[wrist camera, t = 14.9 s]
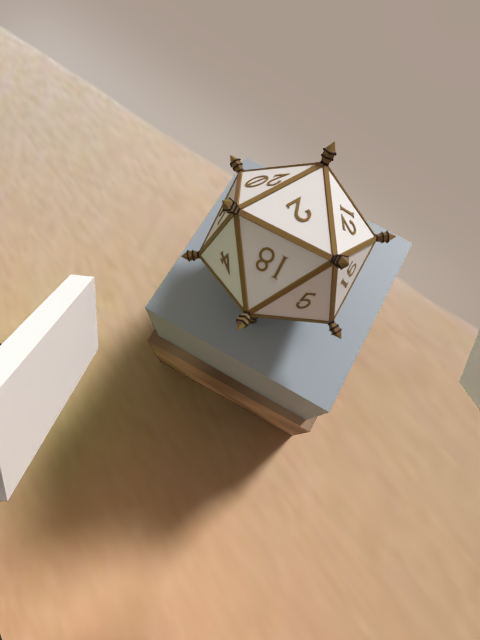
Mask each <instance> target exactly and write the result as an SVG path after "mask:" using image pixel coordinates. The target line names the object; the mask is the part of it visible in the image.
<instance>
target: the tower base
mask: <svg viewBox="0 0 480 640" xmlns="http://www.w3.org/2000/svg"><path fill="white" fill-rule="evenodd" d="M148 342H149V343H150V345H151V347H152V348H153V350H154V352H155V353H156V355H157V357H158V358H159V360H160V361H161V362H163V363H164V364H166V365H168V366H170V367H171V368H173V369H175V370H177V371H179V372H180V373H182V374H184V375H186V376H187V377H189V378H191V379H193V380H194V381H196V382H198V383H200V384H202V385H203V386H205V387H207V388H209V389H210V390H212V391H214V392H216V393H217V394H219V395H221V396H223V397H225V398H226V399H228V400H230V401H232V402H233V403H235V404H237V405H239V406H240V407H242V408H244V409H246V410H248V411H249V412H251V413H253V414H255V415H256V416H258V417H260V418H262V419H263V420H265V421H267V422H269V423H270V424H272V425H274V426H276V427H278V428H279V429H281V430H283V431H285V432H286V433H288V434H290V435H292V436H293V435H297V434H302V433H307V432H310V430H311V428H312V426H313V424H314V422H315V420H316V418H317V417H314V418H311V419H308V420H304V419H303V418H301V417H299V416H297V415H296V414H294V413H292V412H291V411H289V410H287V409H285V408H284V407H282V406H280V405H278V404H277V403H275V402H273V401H271V400H270V399H268V398H266V397H264V396H263V395H261V394H259V393H257V392H256V391H254V390H252V389H250V388H249V387H247V386H245V385H243V384H242V383H240V382H238V381H236V380H235V379H233V378H231V377H229V376H228V375H226V374H224V373H222V372H221V371H219V370H217V369H215V368H214V367H212V366H210V365H208V364H207V363H205V362H203V361H202V360H200V359H198V358H196V357H195V356H193V355H191V354H189V353H188V352H186V351H184V350H182V349H181V348H179V347H177V346H175V345H174V344H172V343H170V342H168V341H167V340H165V339H163V338H161V337H160V336H159V335H158V333H157V331H156V329H155V330H154V332H153V334H152V335H151V337H150V338H149V340H148Z"/></svg>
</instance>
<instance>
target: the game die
mask: <svg viewBox="0 0 480 640" xmlns="http://www.w3.org/2000/svg"><path fill="white" fill-rule="evenodd" d="M323 150H324V152H323V154H321V156H322V160H321V162H316V163H308V164H297V165H289V166H278V167H269V168H259V169H250V170H244V169H243V167H242V165H243V163H241V162H240V159H237V158H235V157H233V156H230V157H231V163H230V166H231V167H233V170H234V171H236V172H237V173H238V174H237V176H236V178H235V180H234V182H233V184H232V186H231V188H230V190H229V192H228V194H227V196H226V198H225V200H222V203H223V204H222V206H221V208H220V210H219V212H218V214H217V216H216V218H215V220H214V222H213V224H212V226H211V228H210V230H209V232H208V234H207V236H206V238H205V240H204V242H203V244H202V246H201V248H200V250H199V251H194V250H192V251H189V250H187V252H186V253H184V254H183V255H182V256H181V257H183V258H184V259H186V260H188V261H189V262H190V261H192V260H193V261H195V260H196V259H198V258H199V259H201V260H202V262H203V263H204V264H205V265H206V267H207V268H208V269H209V270H210V272H211V273H212V274H213V275H214V277H215V278H216V279H217V280H218V282H219V283H220V284H221V285H222V287H223V288H224V289H225V290H226V292H227V293H228V294H229V295H230V297H231V298H232V299H233V300H234V302H235V303H236V304H237V305H238V307H239V308H240V309H241V310H242V312H243V313H242V314H241V315H239V318H238V319H236V323H237V331H238V330H240V329H242V328H246V327H247V326H248V324H249V325H250V324H254V323H255V322H257V319H258V317H259V318H270V319H280V320H291V321H301V322H312V323H323V324H328V325H329V331H331V333H332V334H331V335H334V336H336V337H338V338H340V339H341V330H342V329H341V328H340V327H339V324H336V323H335V321H334V319H335V317H336V316H337V314H338V312H339V310H340V308H341V306H342V304H343V303H344V301H345V299H346V297H347V295H348V293H349V291H350V289H351V288H352V286H353V284H354V282H355V280H356V278H357V276H358V274H359V273H360V271H361V269H362V267H363V265H364V263H365V261H366V260H367V258H368V256H369V254H370V252H371V250H372V248H373V246H374V245H375V243H376V242H381V243H384V242H386V243H388V242H389V241H390V240H392V239H393V238H395V237H396V236H395V235H393V234H391V233H389V232H388V231H386V232H382V231H381V233H379V234H375V233H374V232H373V230H372V229H371V227H370V226H369V224H368V223H367V221H366V220H365V219H364V217H363V216H362V214H361V213H360V211H359V210H358V208H357V207H356V206H355V204H354V202H353V201H352V200H351V198H350V197H349V195H348V194H347V192H346V191H345V189H344V188H343V186H342V185H341V183H340V182H339V181H338V179H337V178H336V176H335V175H334V173H333V172H332V171H331V169H330V168H329V166H328V165H329V163H330V162H331V161H333V157H334V155H336V152H335V142H333V143H332V144H331V145H329V146H328V147H326V148H323Z"/></svg>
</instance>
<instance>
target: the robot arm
mask: <svg viewBox="0 0 480 640" xmlns="http://www.w3.org/2000/svg"><path fill="white" fill-rule="evenodd" d="M98 348H99V347H98V331H97V314H96V298H95V282H94V277H91V276H81V275H70V276H69V277H68V278H67V279H66V280H65V281H64V282H63V283H62V284H61V285H60V286H59V287H58V288H57V289H56V290H55V291H54V292H53V293H52V294H51V295H50V296H49V297H48V298H47V299H46V300H45V301H44V302H43V303H42V304H41V305H40V306H39V307H38V308H37V309H36V310H35V311H34V312H33V313H32V314H31V315H30V316H29V317H28V318H27V319H26V320H25V321H24V322H23V323H22V324H21V325H20V326H19V327H18V328H17V329H16V330H15V331H14V332H13V334H12V335H11V336H10V337H9V338H8V339H7V340H6V341H5V342H4V343H3V344H0V501H8V500H9V498H10V496H11V495H12V493H13V491H14V490H15V488H16V486H17V485H18V483H19V481H20V480H21V478H22V476H23V475H24V473H25V471H26V469H27V468H28V466H29V464H30V463H31V461H32V459H33V458H34V456H35V454H36V453H37V451H38V449H39V448H40V446H41V444H42V443H43V441H44V439H45V438H46V436H47V434H48V433H49V431H50V429H51V427H52V426H53V424H54V422H55V421H56V419H57V417H58V416H59V414H60V412H61V411H62V409H63V407H64V406H65V404H66V402H67V401H68V399H69V397H70V396H71V394H72V392H73V391H74V389H75V387H76V385H77V384H78V382H79V380H80V379H81V377H82V375H83V374H84V372H85V370H86V369H87V367H88V365H89V364H90V362H91V360H92V359H93V357H94V355H95V354H96V352H97V350H98ZM459 382H460V384H461V385H462V386H463V388H464V389H465V390H466V392H467V393H468V395H469V396H470V397H471V399H472V400H473V402H474V403H475V404H476V406H477V407H478V408H479V410H480V330H479V333H478V336H477V338H476V341H475V343H474V346H473V348H472V351H471V353H470V356H469V358H468V361H467V363H466V366H465V368H464V371H463V374H462V376H461V379H460V381H459ZM0 640H2V639H1V635H0Z"/></svg>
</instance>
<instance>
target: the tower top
mask: <svg viewBox="0 0 480 640" xmlns="http://www.w3.org/2000/svg"><path fill="white" fill-rule="evenodd" d="M242 167H243V169H244V170H250V169H259V168H265V167H263V166H261V165H259V164H257V163H255V162H253V161H251V160H250V159H248V158H246V159H245V160H244V162H243V165H242ZM237 174H238V173H237V172H236V173H235V175H234V176H233V178H232V179H231V181H230V182H229V184H228V185H227V187H226V188H225V190H224V191H223V193H222V194H221V196H220V197H219V199H218V200H217V202H216V203H215V205H214V206H213V208H212V209H211V211H210V212H209V214H208V215H207V217H206V218H205V220H204V221H203V222H202V224H201V225H200V227H199V228H198V230H197V231H196V233H195V234H194V236H193V237H192V239H191V240H190V242H189V243H188V245H187V246H186V248H185V249H184V251H183V252H182V254H181V255H180V257H179V258H178V260H177V261H176V263H175V264H174V266H173V267H172V269H171V270H170V272H169V273H168V275H167V276H166V278H165V279H164V281H163V282H162V283H161V285H160V286H159V288H158V289H157V291H156V292H155V294H154V295H153V297H152V298H151V300H150V301H149V303H148V304H147V306H146V307H145V308H146V310H147V312H148V314H149V317H150V319H151V321H152V323H153V325H154V327H155V329H156V331H157V333H158V335H159V336H160V337H161V338H163V339H165V340H167V341H168V342H170V343H172V344H174V345H175V346H177V347H179V348H181V349H182V350H184V351H186V352H188V353H189V354H191V355H193V356H195V357H196V358H198V359H200V360H202V361H203V362H205V363H207V364H208V365H210V366H212V367H214V368H215V369H217V370H219V371H221V372H222V373H224V374H226V375H228V376H229V377H231V378H233V379H235V380H236V381H238V382H240V383H242V384H243V385H245V386H247V387H249V388H250V389H252V390H254V391H256V392H257V393H259V394H261V395H263V396H264V397H266V398H268V399H270V400H271V401H273V402H275V403H277V404H278V405H280V406H282V407H284V408H285V409H287V410H289V411H291V412H292V413H294V414H296V415H297V416H299V417H301V418H303V419H304V420H308V419H311V418H314V417H317V416H319V415H322V414H325V413H328V412H329V411H330V409H331V407H332V405H333V403H334V401H335V399H336V397H337V395H338V393H339V391H340V389H341V387H342V385H343V383H344V381H345V379H346V377H347V375H348V373H349V371H350V369H351V367H352V365H353V363H354V361H355V359H356V357H357V355H358V353H359V350H360V348H361V346H362V344H363V342H364V340H365V338H366V336H367V334H368V332H369V330H370V328H371V326H372V324H373V322H374V320H375V318H376V316H377V314H378V312H379V310H380V308H381V306H382V304H383V302H384V300H385V298H386V296H387V294H388V292H389V290H390V288H391V285H392V283H393V281H394V279H395V277H396V275H397V273H398V271H399V269H400V267H401V265H402V263H403V261H404V259H405V257H406V255H407V253H408V251H409V249H410V247H411V245H412V243H410V242H408V241H406V240H404V239H403V238H400V237H399V236H397V235H395V234H393V233H391V232H389V231H388V232H389V233H391V234H393V235H395V236H396V237H395V238H393V239H392V240H390V241H389V242H388V243H386V242H384V243H381V242H376V243H375V245H374V246H373V248H372V250H371V252H370V254H369V256H368V258H367V260H366V261H365V263H364V265H363V267H362V269H361V271H360V273H359V274H358V276H357V278H356V280H355V282H354V284H353V286H352V288H351V289H350V291H349V293H348V295H347V297H346V299H345V301H344V303H343V304H342V306H341V308H340V310H339V312H338V314H337V316H336V317H335V319H334V321H335V323H336V324H339V327H340V328H341V329H342V330H341V339H340V338H338V337H336V336H334V335H331V334H332V333H331V331H329V325H328V324H323V323H312V322H301V321H291V320H280V319H270V318H259V317H258V319H257V322H255V323H254V324H250V325H249V324H248V326H247V327H246V328H242V329H240V330H238V331H237V323H236V319H238V318H239V315H241V314H242V313H243V312H242V310H241V309H240V308H239V307H238V305H237V304H236V303H235V302H234V300H233V299H232V298H231V297H230V295H229V294H228V293H227V292H226V290H225V289H224V288H223V287H222V285H221V284H220V283H219V282H218V280H217V279H216V278H215V277H214V275H213V274H212V273H211V272H210V270H209V269H208V268H207V267H206V265H205V264H204V263H203V262H202V260H201V259H199V258H198V259H196V260H195V261H193V260H192V261H190V262H189V261H188V260H186V259H184V258H183V257H181V256H182V255H183V254H184V253H186V252H187V250H189V251H192V250H194V251H199V250H200V248H201V246H202V244H203V242H204V240H205V238H206V236H207V234H208V232H209V230H210V228H211V226H212V224H213V222H214V220H215V218H216V216H217V214H218V212H219V210H220V208H221V206H222V204H223V203H222V200H225V198H226V196H227V194H228V192H229V190H230V188H231V186H232V184H233V182H234V180H235V178H236V176H237ZM365 220H366V219H365ZM366 221H367V223H368V224H369V226H370V227H371V229H372V230H373V232H374V233H375V234H379V233H381V231H382V232H386V231H387V230H385V229H383V228H381V227H379V226H377V225H375V224H373V223H372V222H369V221H368V220H366Z"/></svg>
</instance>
